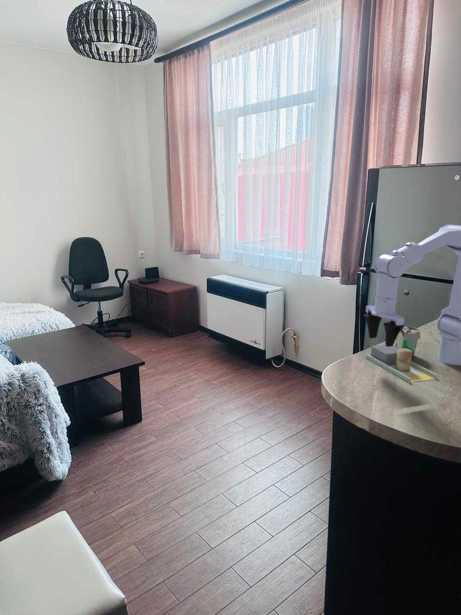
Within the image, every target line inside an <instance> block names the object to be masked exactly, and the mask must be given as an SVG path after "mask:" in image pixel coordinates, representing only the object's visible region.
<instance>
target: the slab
mask: <svg viewBox="0 0 461 615" xmlns="http://www.w3.org/2000/svg"><path fill="white" fill-rule="evenodd" d="M398 349H399V348H397V347H395V345H393V346H390V347H387V346H386V344H383V345H382V344H380V345H374V346H373V345H372V346H371V350H370V351H371V352H370V356H372V357H374V358H375V359H377V360H379V361H381V362H383V363H384V364H386V365H388V366H391V365H396V360H397V353H398Z"/></svg>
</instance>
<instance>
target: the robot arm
mask: <svg viewBox="0 0 461 615" xmlns="http://www.w3.org/2000/svg"><path fill="white" fill-rule="evenodd" d="M443 246H445V247H447V248H448V249H450V250H452V251H453V252H454V253H455V255H456V256H458V258H457V263H456V267H455V272H454V278H453V283H452V288H451V293H450V298H449V299H450V300H449V303H448V306H446V307H444V308H443V309H442V310H441V313H440V316H439V318H438V319H437V322H436V328H437V330H438V331H439V335H441V336H440V341H439V348H438V354H437V361H438V362H441V363H443V364H446V365H450V366H460V367H461V225H457V224H456V225H455V224H446V225H445V226H441V227H440V228H438V231H437V232H435V233H433V234H431V235H430V236H428V237H427V238H425V239H423V240H421V242H419V243H416V242H407V243H405V246H402V247H401V248H399V249H397V250H396V249H395V250H393V251H392V250H391V253H390V254H387V253H386V254H382V255H381V256H379V257H378V258H376V262H375V263H374V264H373V267H374V270H375V272H376V279H377V281H376V288H375V289H376V290H375V300H374V305H366V306H365V312H366V313H367V314H366V313H364V314H363V318H364V320H365V323H366V326H367V330H368V331H367V332H368V337H369V338H370V339H376V338H377V337H378V332H379V327H380V324H381V321H382V319H384V320H386V321H389V322H383V326H384V332H385V340H384V342H385V344H384V345H386V346H387V347H390V346H395V345H394V344H395V343H396V338H397V336H398V334H399V332H400V331H401V330H402V329H403V327H404V324H405V317H403V316H401V315H399V314H398V313H397V312H396V305H397V299H398V290H399V282H400V277H401V276H402V275H403V274H404V273H405V271H406V270H407V269H408V268H409V267H411V266H413V265H415V264H417V263H419V262H420V261H422V260H423V259H424V256H425V255H426V254H428V253H430V252H433V251H434V250H436V249H439V248H441V247H443Z"/></svg>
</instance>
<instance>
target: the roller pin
mask: <svg viewBox="0 0 461 615" xmlns="http://www.w3.org/2000/svg"><path fill="white" fill-rule="evenodd" d="M411 357H412V351H411V350H409V349H404V348H400V349H398V353H397V360H396V370H398V371H401V372H409V371H410V364H411V361H412V359H411Z"/></svg>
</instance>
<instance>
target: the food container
mask: <svg viewBox="0 0 461 615" xmlns="http://www.w3.org/2000/svg"><path fill="white" fill-rule="evenodd" d="M419 339H421V332H420V329H419V328H417V327H416V326H413V325H409V324H405V323H404V327H403V329H402V330H401V331H400V332H399V334H398V336H397V338H396V340H395V345H394V346H395V347H397V348H399V349H400V348H404V349H409V350H411V351H412V357H411V360H412V359H414V357H415V354H416V350H417V349H416V348H417V344H418V340H419Z"/></svg>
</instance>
